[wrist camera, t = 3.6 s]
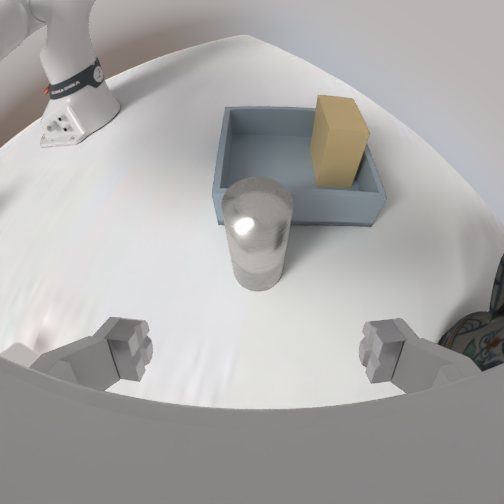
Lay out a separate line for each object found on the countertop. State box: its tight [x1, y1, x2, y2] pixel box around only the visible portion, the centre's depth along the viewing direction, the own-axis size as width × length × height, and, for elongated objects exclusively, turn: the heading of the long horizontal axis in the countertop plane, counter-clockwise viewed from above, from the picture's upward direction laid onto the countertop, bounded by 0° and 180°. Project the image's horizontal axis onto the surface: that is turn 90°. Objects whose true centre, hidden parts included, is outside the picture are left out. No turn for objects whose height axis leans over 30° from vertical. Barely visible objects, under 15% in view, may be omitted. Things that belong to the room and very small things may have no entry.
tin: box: [221, 177, 293, 291], centre depth 27 cm, size 6×6×12 cm
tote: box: [212, 107, 387, 227], centre depth 36 cm, size 20×18×6 cm
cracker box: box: [310, 95, 370, 188], centre depth 34 cm, size 5×8×10 cm, turn 179°
